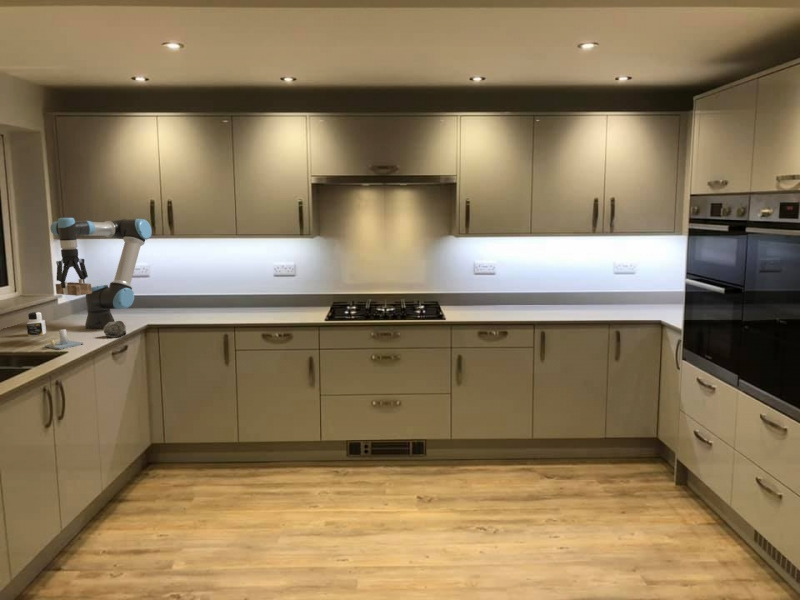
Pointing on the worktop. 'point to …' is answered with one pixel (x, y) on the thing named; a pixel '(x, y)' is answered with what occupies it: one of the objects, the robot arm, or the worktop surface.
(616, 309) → the worktop surface
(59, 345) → the post block
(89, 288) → the brown textured block
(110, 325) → the fossil
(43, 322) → the medicine bottle
